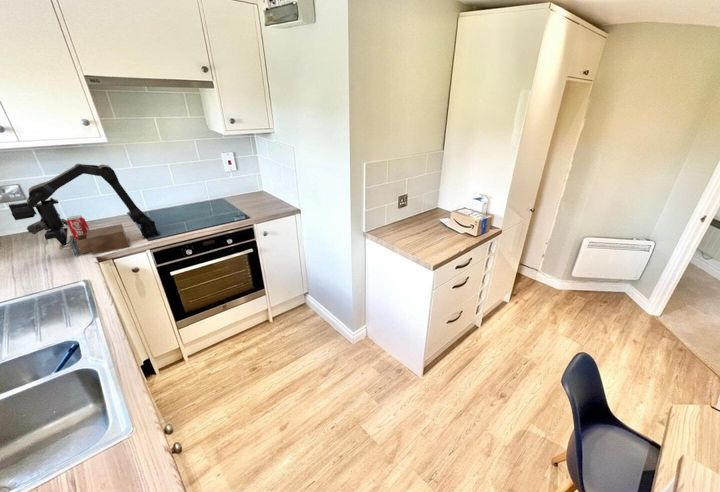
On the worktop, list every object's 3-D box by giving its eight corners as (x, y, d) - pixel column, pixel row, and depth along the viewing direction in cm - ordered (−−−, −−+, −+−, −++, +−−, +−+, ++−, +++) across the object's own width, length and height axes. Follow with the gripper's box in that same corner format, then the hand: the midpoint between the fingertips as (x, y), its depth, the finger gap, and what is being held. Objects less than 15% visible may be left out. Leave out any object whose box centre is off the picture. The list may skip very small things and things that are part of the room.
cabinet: (93, 254, 155) (86, 238, 151) (94, 245, 163) (87, 230, 159) (129, 246, 163) (122, 231, 159) (127, 238, 171) (121, 224, 167)
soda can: (96, 236, 172) (86, 215, 166) (81, 242, 166) (71, 220, 160) (86, 235, 173) (76, 214, 168) (71, 240, 167) (61, 219, 162)
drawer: (62, 258, 149) (55, 245, 146) (64, 250, 156) (57, 237, 153) (109, 248, 158) (103, 236, 155) (108, 241, 165) (103, 229, 162)
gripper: (26, 212, 146) (43, 242, 153) (19, 224, 133) (38, 257, 140) (60, 207, 152) (74, 236, 159) (56, 219, 140) (72, 250, 147)
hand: (65, 245), depth 151 cm, fingers closed
